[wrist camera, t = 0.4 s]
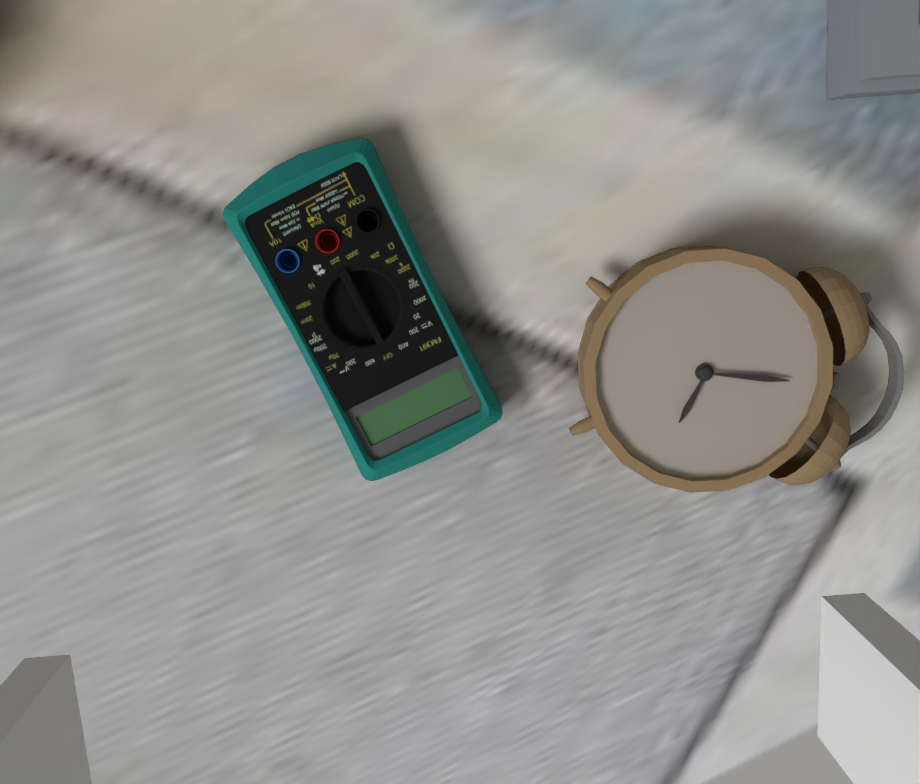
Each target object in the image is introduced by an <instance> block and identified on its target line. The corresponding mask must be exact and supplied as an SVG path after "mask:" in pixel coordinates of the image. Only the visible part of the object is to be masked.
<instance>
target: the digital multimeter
mask: <svg viewBox="0 0 920 784" xmlns="http://www.w3.org/2000/svg"><path fill="white" fill-rule="evenodd" d="M366 169H367V170H366ZM337 170H338V171H337ZM335 171H336V172H335ZM367 171H368V172H367ZM333 172H334V173H333ZM331 173H332V174H331ZM368 173H369V174H368ZM369 175H370V176H369ZM370 177H371V178H370ZM371 179H372V180H371ZM372 181H373V182H372ZM373 183H374V184H373ZM374 185H375V186H374ZM375 187H376V188H375ZM376 189H377V190H376ZM377 191H378V192H377ZM378 193H379V194H378ZM379 195H380V196H379ZM380 197H381V198H380ZM381 199H382V200H381ZM382 201H383V202H382ZM383 203H384V204H383ZM384 205H385V206H384ZM385 207H386V208H385ZM386 209H387V210H386ZM387 211H388V212H387ZM388 213H389V214H388ZM223 215H224V219H225V221H226V223H227V224H228V226H229V228H230V229H231V231H232V233H233V234H234V236H235V238H236V239H237V241H238V243H239V244H240V246H241V248H242V249H243V251H244V253H245V254H246V256H247V258H248V259H249V261H250V263H251V264H252V266H253V268H254V269H255V271H256V273H257V274H258V276H259V278H260V280H261V281H262V283H263V285H264V287H265V288H266V290H267V292H268V294H269V295H270V297H271V299H272V301H273V302H274V304H275V306H276V308H277V309H278V311H279V313H280V315H281V316H282V318H283V320H284V322H285V323H286V325H287V327H288V329H289V330H290V332H291V334H292V336H293V337H294V339H295V341H296V343H297V345H298V347H299V349H300V351H301V353H302V355H303V357H304V359H305V360H306V362H307V364H308V366H309V368H310V370H311V372H312V374H313V376H314V378H315V380H316V382H317V384H318V386H319V387H320V389H321V391H322V393H323V395H324V397H325V399H326V401H327V403H328V405H329V407H330V409H331V411H332V414H333V416H334V418H335V420H336V422H337V424H338V426H339V428H340V430H341V432H342V434H343V437H344V439H345V441H346V443H347V445H348V447H349V449H350V451H351V453H352V455H353V458H354V460H355V462H356V464H357V466H358V468H359V470H360V472H361V474H362V476H363V477H364V478H365V479H366V480H369V481H374V480H378V479H381V478H383V477H386V476H389V475H391V474H394V473H397V472H399V471H402V470H404V469H407V468H409V467H411V466H414V465H416V464H419V463H421V462H423V461H426V460H428V459H430V458H432V457H434V456H436V455H438V454H440V453H442V452H444V451H447V450H449V449H451V448H452V447H454V446H456V445H458V444H460V443H461V442H463V441H465V440H467V439H468V438H470V437H472V436H474V435H476V434H477V433H479V432H481V431H482V430H484V429H486V428H487V427H489V426H491V425H492V424H494V423H496V422H497V421H498V420H499V419H500V418H501V416H502V408H501V405H500V403H499V401H498V399H497V397H496V395H495V393H494V391H493V390H492V388H491V386H490V384H489V382H488V380H487V379H486V377H485V375H484V373H483V371H482V369H481V368H480V366H479V364H478V362H477V360H476V358H475V357H474V355H473V353H472V351H471V349H470V348H469V346H468V344H467V342H466V340H465V338H464V337H463V335H462V333H461V331H460V329H459V327H458V325H457V323H456V321H455V319H454V317H453V315H452V313H451V311H450V309H449V308H448V306H447V304H446V302H445V300H444V298H443V296H442V294H441V292H440V290H439V288H438V286H437V284H436V282H435V280H434V278H433V276H432V274H431V272H430V270H429V268H428V266H427V264H426V262H425V259H424V257H423V255H422V253H421V251H420V249H419V246H418V244H417V242H416V240H415V238H414V236H413V233H412V231H411V229H410V227H409V225H408V223H407V220H406V218H405V216H404V214H403V212H402V209H401V207H400V205H399V203H398V201H397V198H396V196H395V194H394V192H393V189H392V187H391V185H390V182H389V180H388V178H387V175H386V173H385V171H384V169H383V166H382V164H381V162H380V159H379V157H378V155H377V152H376V150H375V148H374V146H373V145H372V144H371V142H370V141H369V140H367V139H364V138H360V139H355V140H350V141H346V142H341V143H336V144H332V145H327V146H324V147H321V148H318V149H315V150H312V151H308V152H305V153H302V154H299V155H297V156H295V157H293V158H291V159H289V160H287V161H285V162H283V163H281V164H280V165H278V166H276V167H274V168H272V169H271V170H270V171H268V172H267V173H266V174H264V175H263V176H262V177H260V178H259V179H258V180H256V181H255V182H253V183H252V184H251V185H250V186H249V187H247V188H246V189H245V190H244V191H243V192H242V193H241V194H239V195H238V196H237V197H236V198H235V199H234V200H233V201H232V202H230V203H229V204H228V205H227V206H226V207H225V209H224V212H223ZM246 229H247V230H246ZM253 242H254V243H253ZM254 244H255V245H254ZM261 257H262V258H261ZM411 260H412V261H411ZM374 267H375V268H374ZM383 271H384V272H383ZM269 272H270V273H269ZM335 274H336V275H335ZM390 276H391V277H392V278H391V277H390ZM328 281H329V282H328ZM324 287H325V288H324ZM400 289H401V290H400ZM321 294H322V295H321ZM319 303H320V305H319ZM319 310H320V312H319ZM399 330H400V331H399ZM348 348H349V349H348ZM374 349H375V350H374ZM356 350H357V351H356ZM469 415H470V416H469ZM467 416H468V417H467ZM365 450H366V451H365Z"/></svg>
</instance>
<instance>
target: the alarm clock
mask: <svg viewBox="0 0 920 784" xmlns="http://www.w3.org/2000/svg"><path fill="white" fill-rule="evenodd" d="M586 284H587V285H588V287H589V288H590V289H591V290H592V291H593V292H594V293H595V294H596V295H598V296H599V297H600V300H599V301H598V303H597V304H596V306H595V307H594V309H593V310H592V312H591V313H590V315H589V317H588V318H587V321H586V325H585V329H584V332H583V336H582V340H581V343H580V347H579V350H578V372H579V389H580V392H581V395H582V397H583V400H584V402H585V405H586V408H587V410H588V413H589V415H590V416H589V417H587V418H585V419H583V420H581V421H579V422H577V423H576V424H575V425H573V426H572V427H570V428H569V430H570V432H571V434H572V436H573V435H577V434H581V433H585V432H587V431H589V430H591V429H594V428H596V430H597V432H598V435H599V436H600V437H601V439H602V440H603V441H604V442H605V443H606V445H607V446H608V447H609V448H610V449H611V451H612V452H613V453H614V454H615V455H616V457H617V458H618V459H619V460H620V461H621V463H622V464H624V465H625V466H627V467H629V468H630V469H632V470H633V471H635V472H637V473H638V474H640V475H641V476H643V477H645V478H646V479H648V480H649V481H651V482H653V483H655V484H659V485H663V486H667V487H671V488H675V489H679V490H683V491H687V492H707V491H724V490H731V489H734V488H736V487H739V486H742V485H745V484H747V483H750V482H753V481H756V480H758V479H761V478H764V477H766V476H767V475H770V477H772V478H774V479H776V480H778V481H781V482H784V483H787V484H790V485H800V484H806V483H811V482H813V481H816V480H818V479H820V478H822V477H823V476H824V475H826V474H827V473H828V472H829V471H830V470H832V469H839V468H840V466H841V463H840V459H841V457H842V456H843V455H844V454H845V453H846V452H847V451H848V450H849V449H851V448H853V447H855V446H857V445H859V444H860V443H862V442H864V441H866V440H868V439H870V438H871V437H872V436H873V435H875V434H876V433H877V432H879V431H880V430H881V429H882V428H883V427H884V425H885V424H886V423H887V422H888V421H889V420H890V418H891V416H892V414H893V412H894V411H895V409H896V407H897V405H898V402H899V399H900V396H901V393H902V390H903V380H904V367H903V358H902V354H901V352H900V349H899V347H898V344H897V342H896V341H895V339H894V338H893V337H892V335H891V334H890V332H889V331H888V330H887V329H885V328H884V327H883V326H882V324H881V323H880V322H879V321H878V320H877V318H876V317H875V316H874V314H873V313H872V311H871V310H870V309H869V307H868V306H867V304H868V303H869V302H870V301H871V299H872V298H871V295H870V294H869V293H859V291H858V290H857V289H856V287H855V286H854V284H853V283H852V282H851V281H850V280H849V279H847V278H846V277H845V276H844V275H843V274H841V273H839V272H837V271H835V270H832V269H829V268H824V267H818V268H811V269H807V270H804V271H801V272H799V273H798V275H797V278H794V277H793V276H791V275H790V274H788V273H787V272H785V271H784V270H782V269H781V268H779V267H777V266H776V265H774V264H773V263H771V262H770V261H768V260H767V259H765V258H762V257H758V256H754V255H750V254H746V253H742V252H738V251H734V250H730V249H726V248H720V249H719V248H715V247H711V246H705V247H691V248H677V249H670V250H667V251H665V252H662V253H660V254H657V255H655V256H652V257H650V258H648V259H645V260H643V261H640V262H638V263H636V264H635V265H634V266H632V267H631V268H630V269H629V270H628V271H626V272H625V273H624V274H623V275H622V276H620V277H619V278H618V279H617V280H615V281H614V282H613V283H612V284H611V285H609V286H606V285H605V284H604V283H602V282H601V281H599V280H597V279H595V278H593V277H590V278H589V280H588V281H587V282H586ZM810 295H811V296H812V297H813V298H814V300H815V301H816V303H817V304H816V303H815V302H814V300H813V299H812V298H811V296H810ZM817 305H818V306H819V307H818V306H817ZM869 325H870V326H871V327H872V328H873V329H874V330H875V331H876V333H877V334H878V335H879V337H880V338H881V340H882V341H883V344H884V346H885V349H886V351H887V355H888V363H889V379H888V386H887V389H886V392H885V396H884V399H883V401H882V403H881V405H880V406H879V408H878V410H877V412H876V414H875V415H874V416H873V417H872V418H871V420H870V421H869V422H868V423H867V424H866V425H865V426H863V427H862V428H861V429H860V430H858V431H857V432H855V433H854V434H852V435H850V422H849V417H848V414H847V412H846V410H845V409H844V408H843V407H842V406H841V405H840V403H839V402H838V401H837V400H836V399H835V398H833V397H832V396H831V395H829V394H830V391H831V388H837V383H838V377H839V374H838V373H836V372H833V364H834V365H840V366H841V365H843V364H845V363H847V362H849V361H851V360H852V359H853V358H855V357H856V356H857V355H858V354H859V353H860V351H861V350H862V349H863V348H864V346H865V344H866V341H867V338H868V334H869Z"/></svg>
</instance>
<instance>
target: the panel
mask: <svg viewBox="0 0 920 784" xmlns="http://www.w3.org/2000/svg"><path fill="white" fill-rule="evenodd" d="M907 93H920V0H828V39H827V100H829V99H842V98H855V97H868V96H881V95H894V94H907Z"/></svg>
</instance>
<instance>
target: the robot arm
mask: <svg viewBox="0 0 920 784" xmlns="http://www.w3.org/2000/svg"><path fill="white" fill-rule="evenodd" d="M818 737H819V738H820V740H821V741H822V742H823V744H824V745H825V746H826V748H827V749H828V750H829V751H830V753H831V754H832V755H833V757H834V758H835V759H836V761H837V762H838V763H839V765H840V766H841V767H842V769H843V770H844V771H845V773H846V774H847V775H848V776H849V778H850V779H851V780H852V781H853V783H854V784H920V641H919V640H918V639H917V638H916V637H915V636H914V635H912V634H911V633H910V632H909V631H908V630H907V629H905V628H904V627H903V626H902V625H901V624H900V623H898V622H897V621H896V620H895V619H894V618H893V617H891V616H890V615H889V614H888V613H887V612H886V611H884V610H883V609H882V608H881V607H880V606H879V605H877V604H876V603H875V602H874V601H873V600H872V599H870V598H869V597H868V596H867V595H866V594H865V593H859V594H846V595H833V596H822V600H821V635H820V671H819V706H818ZM0 784H92V782H91V777H90V771H89V765H88V759H87V753H86V747H85V741H84V735H83V729H82V723H81V717H80V711H79V705H78V699H77V693H76V687H75V681H74V676H73V670H72V664H71V658H70V655H60V656H47V657H35V658H25V659H24V660H23V661H22V662H21V663H20V664H19V665H18V667H17V668H16V669H15V670H14V671H13V672H12V673H11V674H10V676H9V677H8V678H7V679H6V680H5V681H4V682H3V684H2V685H1V686H0Z"/></svg>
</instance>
